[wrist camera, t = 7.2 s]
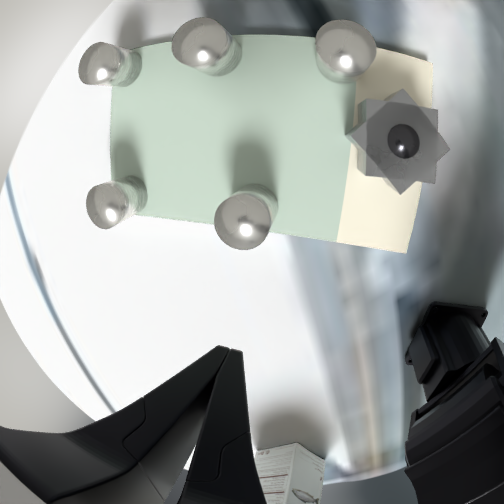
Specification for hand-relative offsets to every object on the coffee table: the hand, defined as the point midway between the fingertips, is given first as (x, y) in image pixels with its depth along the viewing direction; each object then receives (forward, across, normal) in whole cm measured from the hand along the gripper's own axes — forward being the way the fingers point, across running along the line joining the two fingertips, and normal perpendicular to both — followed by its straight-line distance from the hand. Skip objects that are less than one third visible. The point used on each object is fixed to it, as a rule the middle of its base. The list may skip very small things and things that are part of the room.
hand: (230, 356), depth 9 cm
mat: (+12, +2, -7) cm, 14 cm away
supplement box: (+12, -7, +31) cm, 34 cm away
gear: (+11, -6, -8) cm, 15 cm away
